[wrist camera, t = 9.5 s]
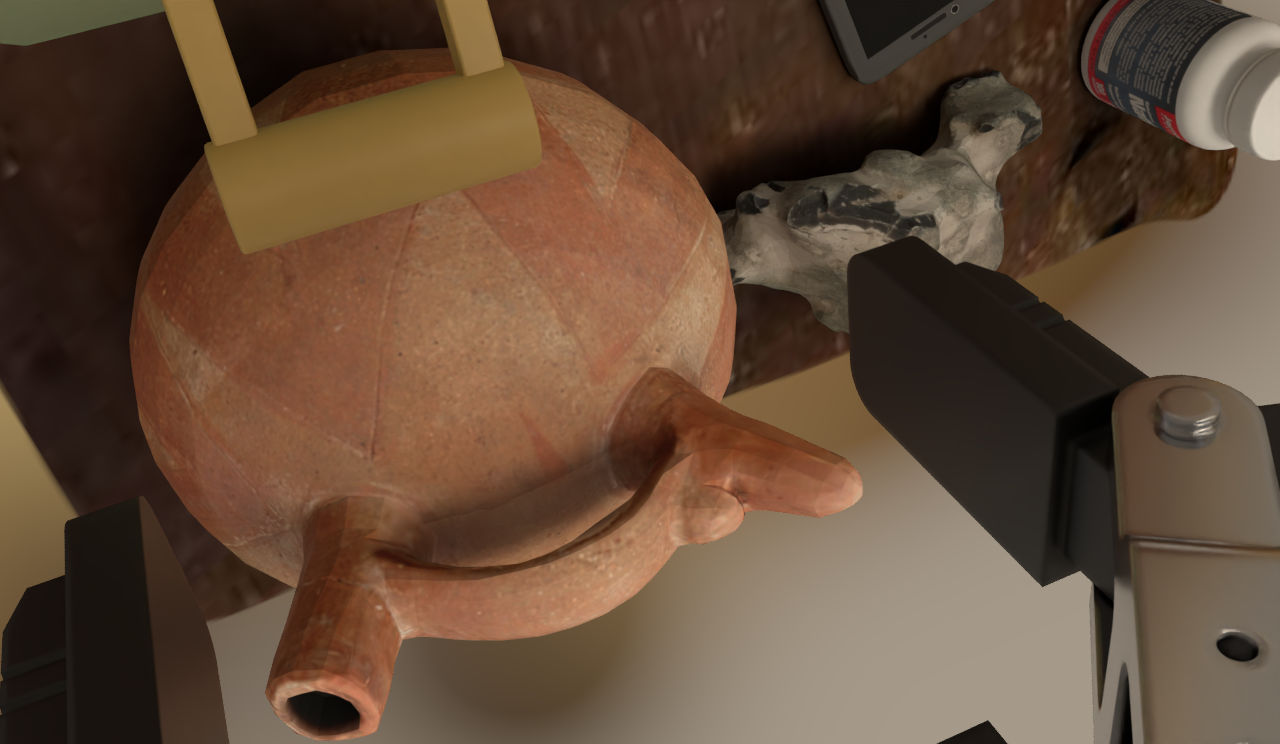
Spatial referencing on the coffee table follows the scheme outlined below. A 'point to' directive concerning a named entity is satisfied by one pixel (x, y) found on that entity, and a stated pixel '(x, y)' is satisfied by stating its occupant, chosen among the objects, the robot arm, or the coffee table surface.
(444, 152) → the chest lid
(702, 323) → the jug
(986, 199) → the decorative stone
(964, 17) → the cell phone
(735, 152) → the coffee table surface
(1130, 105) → the pill bottle
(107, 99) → the coffee table surface
